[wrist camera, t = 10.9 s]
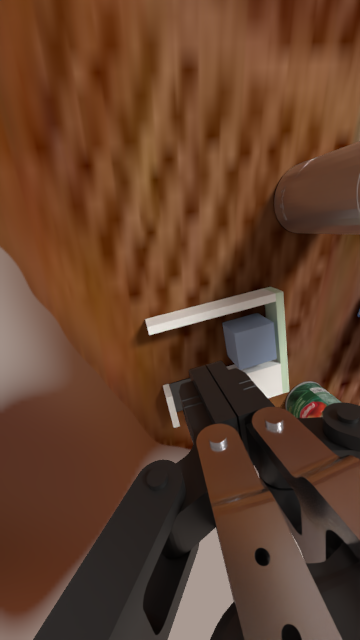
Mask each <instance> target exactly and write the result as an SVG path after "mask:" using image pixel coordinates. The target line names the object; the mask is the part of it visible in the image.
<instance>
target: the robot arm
mask: <svg viewBox="0 0 360 640" xmlns="http://www.w3.org/2000/svg"><path fill="white" fill-rule="evenodd" d="M274 208H275V214H276V216H277V219H278V221H279V222H280V224H281V225H282V226H283V227H284V228H285V229H287V230H288V231H290V232H293V233H312V234H360V141H359V142H356V143H354V144H351V145H348V146H346V147H343V148H340V149H338V150H335V151H332V152H330V153H327V154H325V155H322V156H319V157H316V158H314V159H311V160H308V161H306V162H303V163H300V164H298V165H296V166H294V167H292V168H291V169H290V170H288V171H287V172H286V173H285V175H284V176H283V177H282V179H281V180H280V182H279V184H278V186H277V189H276V192H275V197H274ZM189 375H190V379H191V381H190V382H186V383H183V384H181V386H180V390H179V395H180V399H181V404H182V408H183V412H184V416H185V420H186V423H187V426H188V429H189V432H190V435H191V438H192V441H193V444H194V445H193V447H192V449H191V451H190V452H189V454H188V455H187V456H186V457H185V458H183V459H182V460H180V461H179V462H177V463H176V464H175V463H174V462H172V461H169V460H158V461H155V462H153V463H151V464H149V465H147V466H146V467H145V468H144V469H142V471H141V472H140V473H139V474H138V476H137V478H136V479H135V481H134V482H133V484H132V485H131V487H130V489H129V490H128V492H127V493H126V495H125V496H124V498H123V500H122V501H121V503H120V504H119V506H118V507H117V509H116V511H115V512H114V514H113V515H112V517H111V518H110V520H109V522H108V523H107V525H106V526H105V528H104V529H103V531H102V533H101V534H100V536H99V537H98V539H97V540H96V542H95V544H94V545H93V547H92V548H91V550H90V551H89V553H88V554H87V556H86V558H85V559H84V561H83V563H82V564H81V566H80V567H79V569H78V570H77V572H76V574H75V575H74V576H73V578H72V579H71V581H70V583H69V584H68V586H67V587H66V589H65V590H64V592H63V594H62V595H61V597H60V599H59V600H58V602H57V603H56V605H55V606H54V608H53V609H52V611H51V613H50V614H49V616H48V617H47V619H46V620H45V622H44V623H43V625H42V627H41V628H40V630H39V631H38V633H37V634H36V636H35V638H34V639H33V640H167V639H168V636H169V633H170V630H171V628H172V624H173V622H174V619H175V616H176V613H177V610H178V607H179V604H180V601H181V598H182V595H183V592H184V589H185V586H186V583H187V581H188V578H189V575H190V571H191V568H192V566H193V563H194V560H195V557H196V554H197V551H198V547H199V542H200V541H201V540H202V539H203V538H204V537H205V536H206V535H207V534H209V533H210V532H211V531H212V530H213V529H214V528H215V527H216V529H217V533H218V537H219V542H220V546H221V550H222V554H223V558H224V563H225V567H226V571H227V575H228V579H229V583H230V588H231V592H232V596H233V600H234V602H233V603H232V604H231V606H230V607H229V608H228V609H227V611H226V612H225V613H224V614H223V616H222V618H221V619H220V621H219V622H218V624H217V626H216V628H215V630H214V633H213V634H212V637H211V639H210V640H360V406H358V405H354V404H350V403H333V404H330V405H328V406H326V407H325V408H324V410H323V417H314V418H296V417H295V416H294V415H293V414H291V413H290V412H289V411H287V410H285V409H282V408H278V407H275V406H274V405H273V404H272V403H271V402H270V400H269V399H268V398H267V397H266V396H265V395H264V393H263V392H262V391H261V390H260V389H259V388H258V387H257V386H256V384H255V383H254V382H253V381H251V379H250V377H249V376H248V375H247V374H246V373H245V372H243V371H241V370H239V369H237V368H233V369H230V370H228V368H227V367H226V366H225V364H224V363H223V362H222V361H217V362H214V363H210V364H207V365H204V366H200V367H197V368H193V369H190V370H189ZM254 465H255V467H256V469H257V471H258V473H259V477H258V476H257V473H256V471H255V469H254ZM292 535H293V536H292ZM293 537H294V538H293ZM294 539H295V540H296V542H297V544H298V546H299V548H300V550H301V552H302V555H303V557H302V555H301V553H300V551H299V549H298V547H297V545H296V543H295V540H294ZM303 558H304V559H303Z"/></svg>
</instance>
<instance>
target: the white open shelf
mask: <svg viewBox="0 0 360 640" xmlns="http://www.w3.org/2000/svg"><path fill="white" fill-rule="evenodd" d="M264 304H265V313H266V318H267V319H269V320H270V321H272V322H274V332H275V344H276V355H277V359H275V360H271V361H268V362H265V363H262V364H258V365H255V366H252V367H249V368H245V369H242V370H241V371H243V372H245V373H246V374H247V375H248V376H249V377H250V379H251V381H253V382H254V383H255V384H256V386H257V387H258V388H259V389H260V390H261V391H262V392H263V393H264V395H265V396H266V397H267V398H270V397H274V396H277V395H280V394H283V393H286V392H289V378H288V362H287V345H286V329H285V313H284V297H283V291H281V290H278V289H275V288H273V287H267V288H263V289H259V290H256V291H252V292H248V293H244V294H240V295H236V296H232V297H229V298H225V299H221V300H217V301H213V302H209V303H205V304H202V305H198V306H194V307H190V308H186V309H182V310H179V311H175V312H171V313H167V314H163V315H159V316H155V317H152V318H148V319H145V321H146V325H147V329H148V332H149V335H152V334H156V333H160V332H164V331H167V330H171V329H175V328H178V327H182V326H186V325H190V324H193V323H197V322H201V321H205V320H208V319H212V318H216V317H219V316H223V315H227V314H231V313H234V312H238V311H242V310H246V309H249V308H253V307H257V306H261V305H264ZM227 368H228V370H230V369H233V368H237V366H236V365H235V364H234V365H230V366H227ZM237 369H238V368H237ZM190 381H191V379H190V378H188V379H185V380H181V381H178V382H174V383H171V384H166V385H163V389H164V393H165V396H166V400H167V404H168V408H169V412H170V415H171V419H172V423H173V427H174V428H176V427H179V426H180V424H179V420H178V416H177V412H178V411H182V410H183V408H182V404H181V399H180V395H179V390H180V386H181V384H183V383H186V382H190ZM169 385H170V387H169ZM170 389H171V390H170ZM173 400H174V401H173ZM174 404H175V405H174Z"/></svg>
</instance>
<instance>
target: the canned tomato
mask: <svg viewBox="0 0 360 640" xmlns="http://www.w3.org/2000/svg"><path fill="white" fill-rule="evenodd" d="M333 403H342V402H340V401H339V400H338V399H336V398H335V397H334V396H333V395H331V394H330V393H329V392H327V391H326V390H325V389H324V388H322V387H321V386H320V385H319V384H317V383H315V382H310V381H309V382H304V383H301V384H299V385H297V386H296V387H294V388H293V389H292V390H291V392H290V393H289V394H288V396H287V399H286V403H285V407H286V410H287V411H289V412H290V413H291V414H293V415H294V416H295V417H296V418H314V417H323V410H324V408H325V407H326V406H328V405H330V404H333Z"/></svg>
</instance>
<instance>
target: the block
mask: <svg viewBox="0 0 360 640" xmlns="http://www.w3.org/2000/svg"><path fill="white" fill-rule="evenodd" d="M222 325H223V331H224V337H225V343H226V349H227V355H228V357H229V358H230V359H231V360H232V362H233V363H234V364H235V365H236V366H237V368H238V369H239V370H242V369H245V368H249V367H252V366H255V365H258V364H262V363H265V362H268V361H271V360H275V359H277V355H276V344H275V332H274V322H272V321H270V320H269V319H267V318H265V317H264V316H262V315H260V314H259V313H255V314H251V315H248V316H244V317H240V318H237V319H233V320H230V321H226V322H223V323H222Z"/></svg>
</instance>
